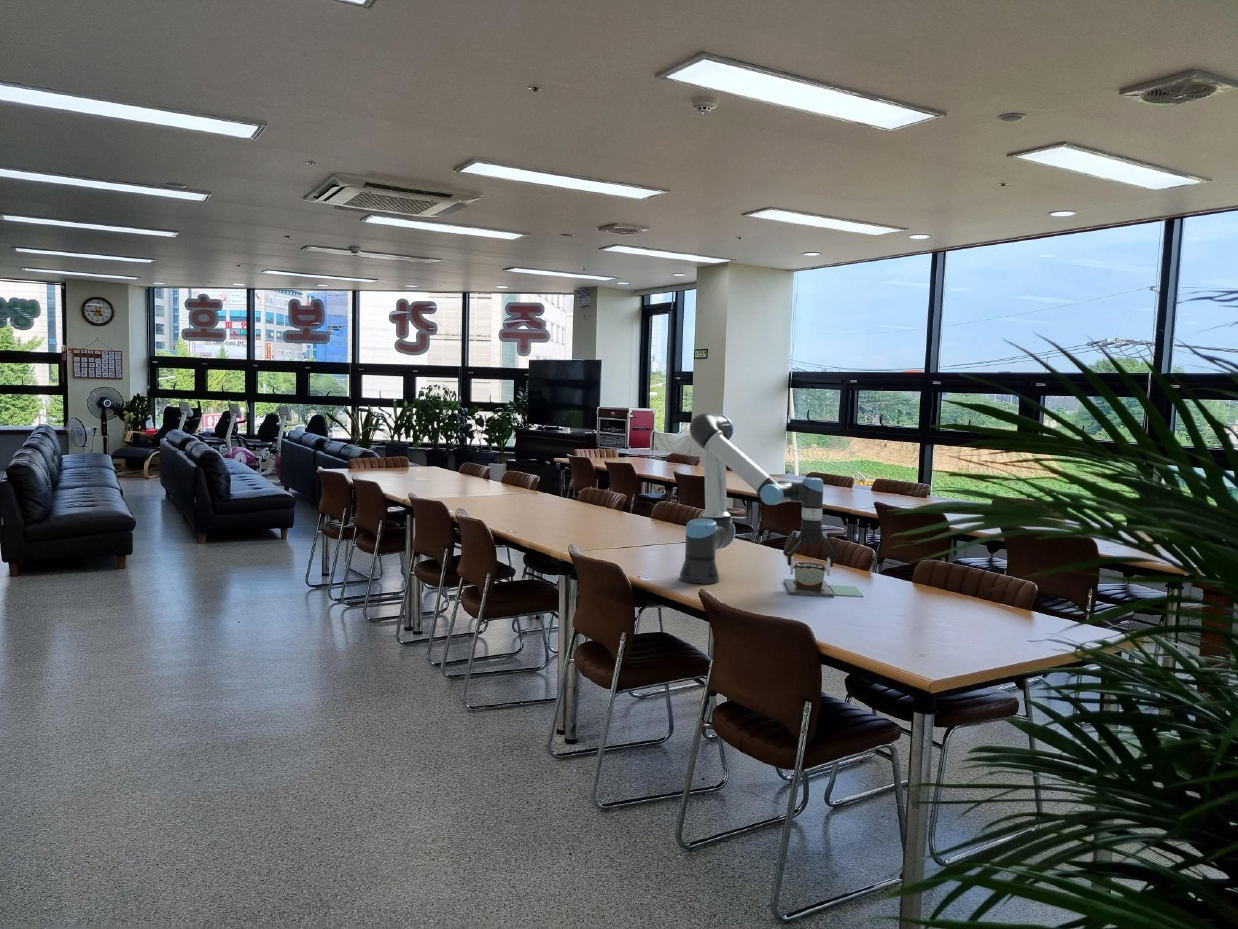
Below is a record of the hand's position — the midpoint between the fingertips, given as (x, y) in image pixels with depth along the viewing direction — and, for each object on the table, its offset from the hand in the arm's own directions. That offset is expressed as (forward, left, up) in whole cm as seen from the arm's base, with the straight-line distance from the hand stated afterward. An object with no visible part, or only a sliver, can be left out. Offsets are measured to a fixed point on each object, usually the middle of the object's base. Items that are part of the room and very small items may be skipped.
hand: (809, 574), depth 319 cm
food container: (0, 0, -6) cm, 6 cm away
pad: (+14, 0, -6) cm, 15 cm away
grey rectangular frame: (0, 0, -6) cm, 6 cm away
